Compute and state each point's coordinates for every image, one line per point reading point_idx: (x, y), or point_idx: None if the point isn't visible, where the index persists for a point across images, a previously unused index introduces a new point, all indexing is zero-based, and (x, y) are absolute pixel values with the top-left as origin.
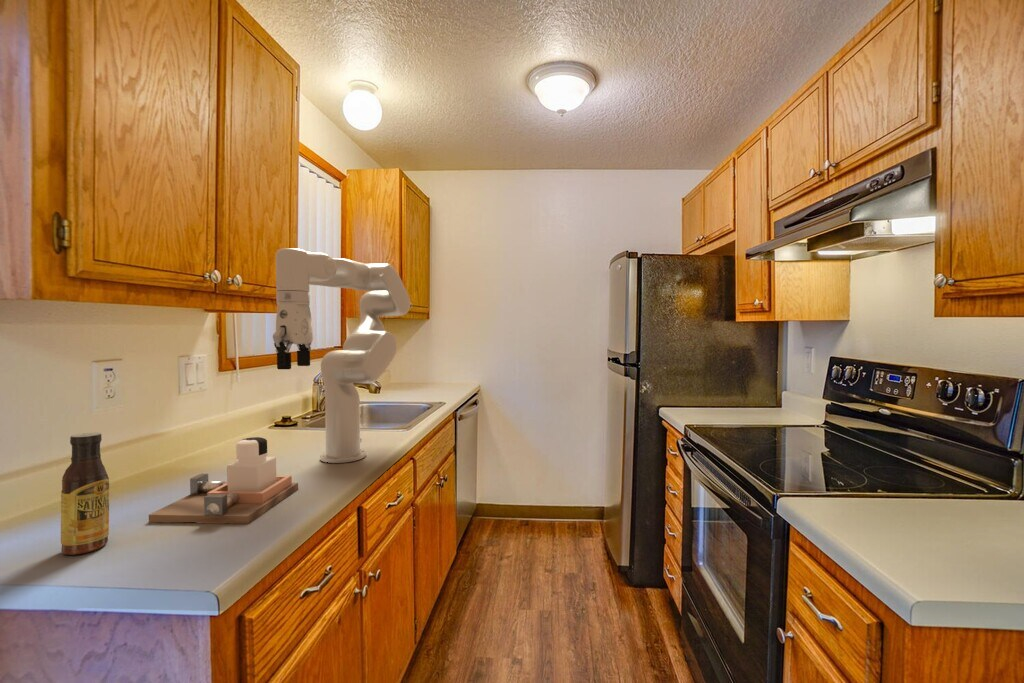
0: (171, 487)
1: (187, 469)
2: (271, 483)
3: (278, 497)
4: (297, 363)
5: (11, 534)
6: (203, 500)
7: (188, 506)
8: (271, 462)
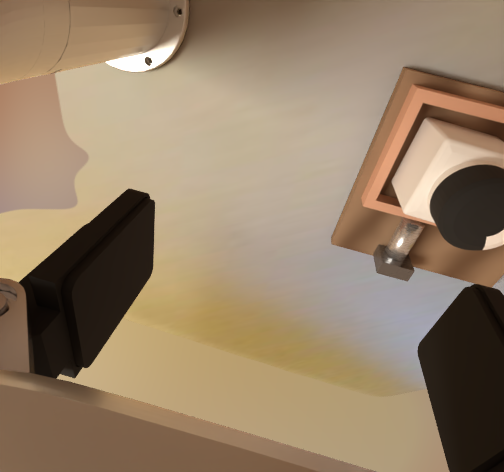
0: (305, 296)
1: (207, 300)
2: (453, 126)
3: (501, 92)
4: (144, 282)
5: None
6: None
7: None
8: (470, 142)
